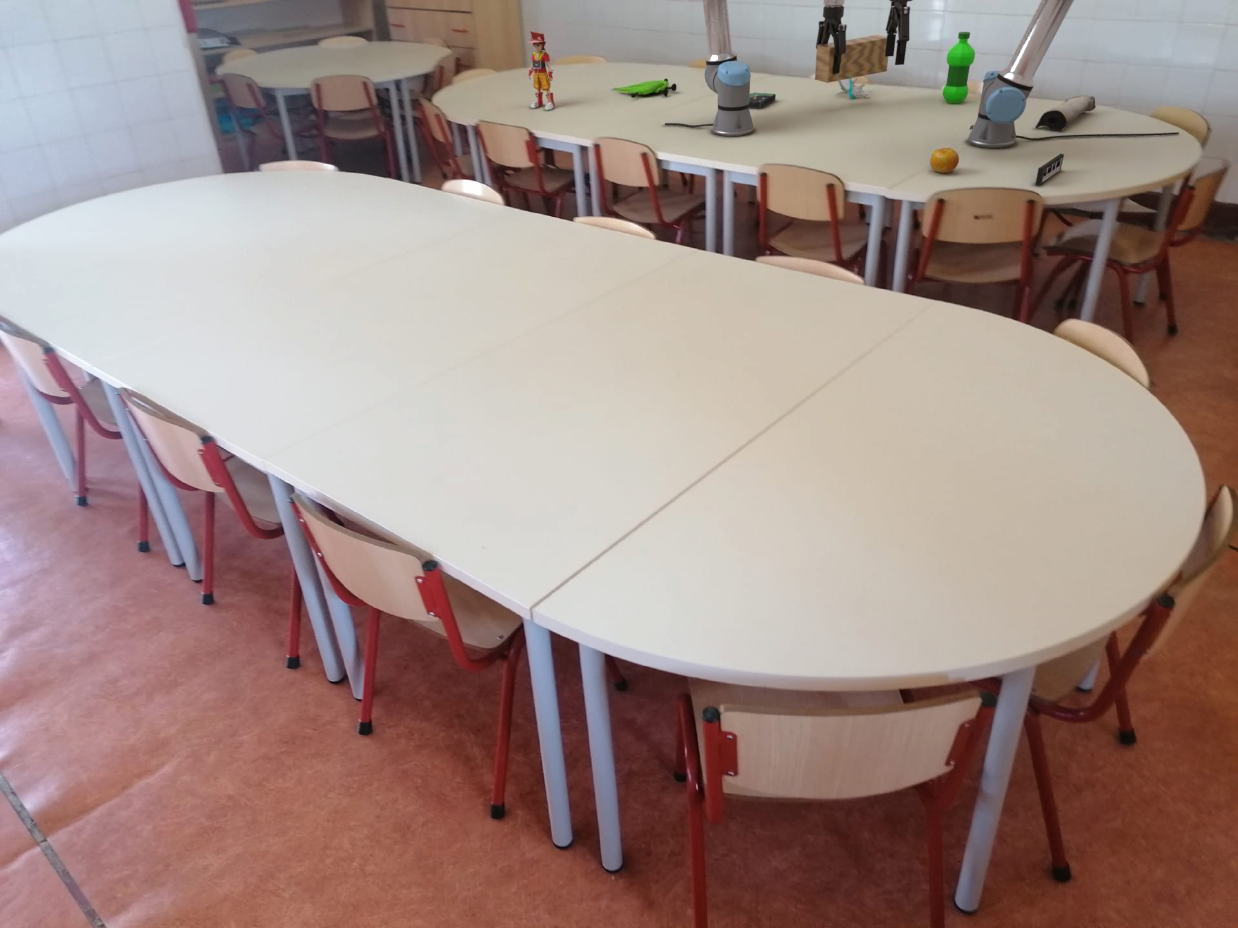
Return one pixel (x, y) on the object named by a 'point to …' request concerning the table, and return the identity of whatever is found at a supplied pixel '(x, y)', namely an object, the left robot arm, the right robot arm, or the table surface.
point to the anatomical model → (852, 88)
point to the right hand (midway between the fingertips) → (894, 60)
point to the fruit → (944, 160)
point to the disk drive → (760, 99)
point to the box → (852, 59)
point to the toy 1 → (541, 71)
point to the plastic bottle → (958, 69)
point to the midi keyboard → (1049, 169)
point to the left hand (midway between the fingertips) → (829, 71)
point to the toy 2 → (648, 88)
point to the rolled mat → (1066, 112)
